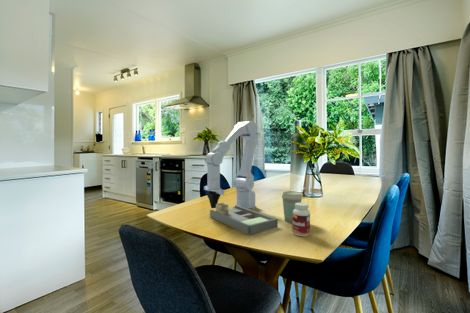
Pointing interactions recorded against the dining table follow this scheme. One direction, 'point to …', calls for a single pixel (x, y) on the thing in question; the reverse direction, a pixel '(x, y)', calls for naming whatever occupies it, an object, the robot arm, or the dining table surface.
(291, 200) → the coffee cup
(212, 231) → the dining table surface
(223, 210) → the birch block
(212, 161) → the robot arm
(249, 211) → the box
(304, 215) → the pill bottle
